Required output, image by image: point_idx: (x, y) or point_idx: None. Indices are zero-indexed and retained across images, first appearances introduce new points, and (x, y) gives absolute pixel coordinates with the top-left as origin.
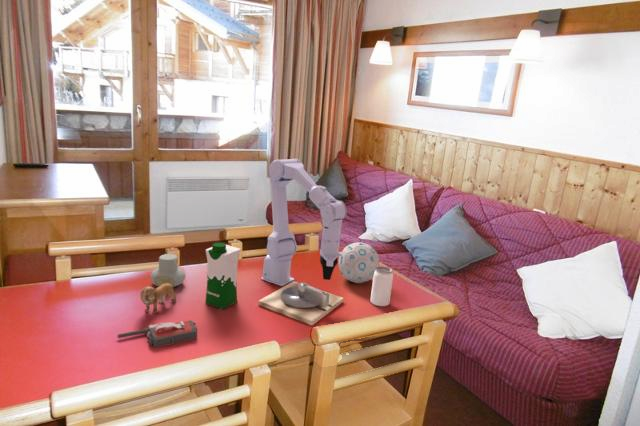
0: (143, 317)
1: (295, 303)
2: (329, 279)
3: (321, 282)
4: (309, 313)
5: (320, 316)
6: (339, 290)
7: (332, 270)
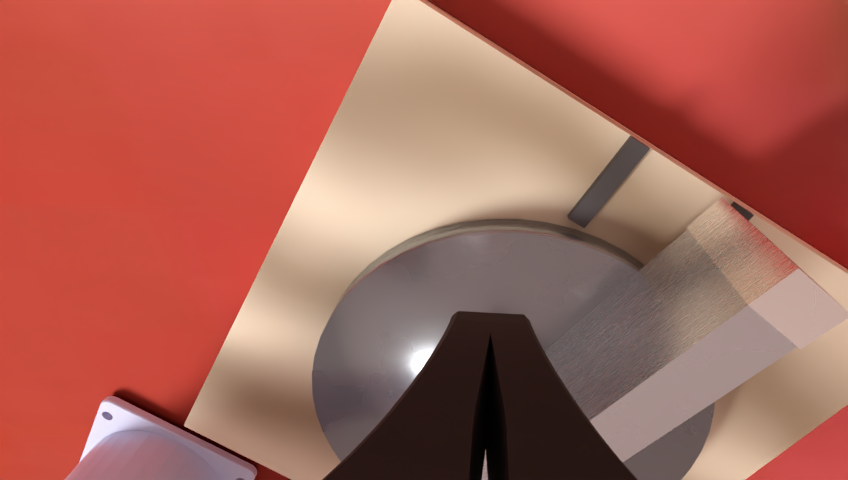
0: None
1: (665, 467)
2: (527, 323)
3: (46, 193)
4: None
5: (811, 249)
6: (137, 15)
7: (614, 462)
